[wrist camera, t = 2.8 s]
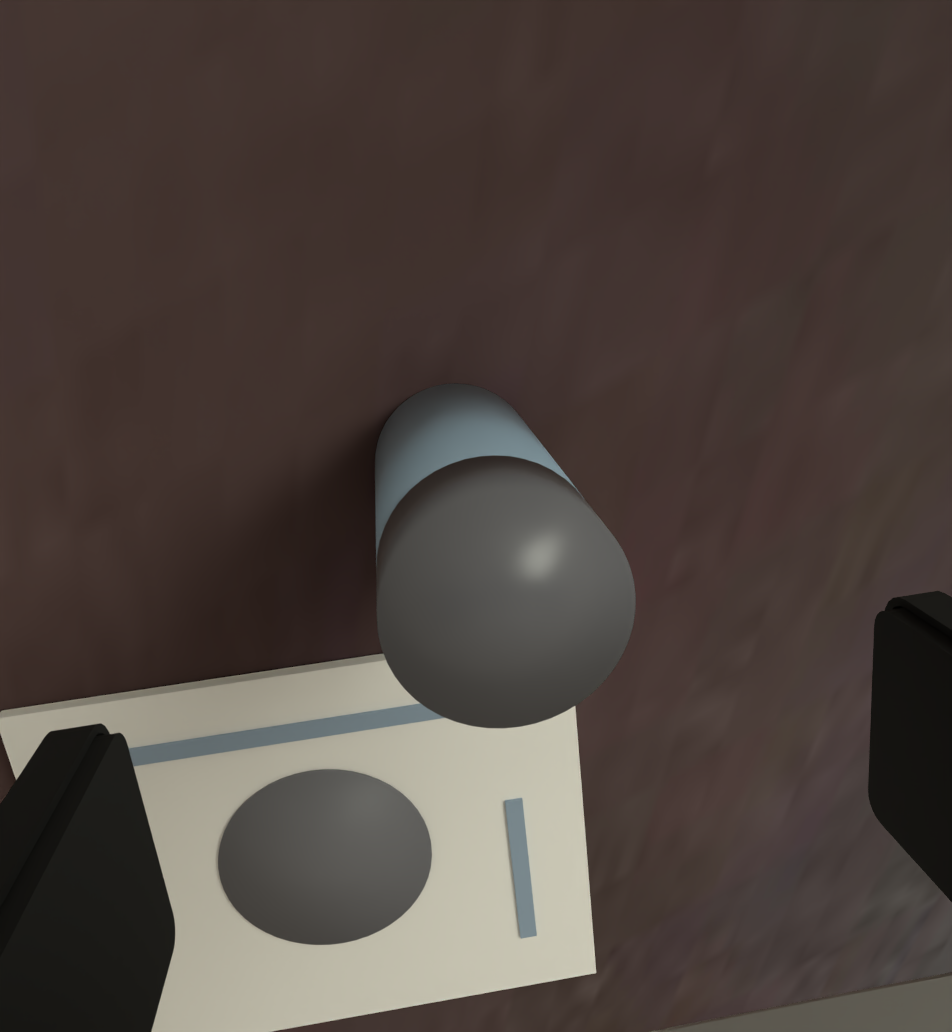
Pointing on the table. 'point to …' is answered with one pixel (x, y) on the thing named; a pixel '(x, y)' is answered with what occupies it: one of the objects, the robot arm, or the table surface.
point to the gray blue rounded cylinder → (491, 565)
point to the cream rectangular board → (344, 843)
